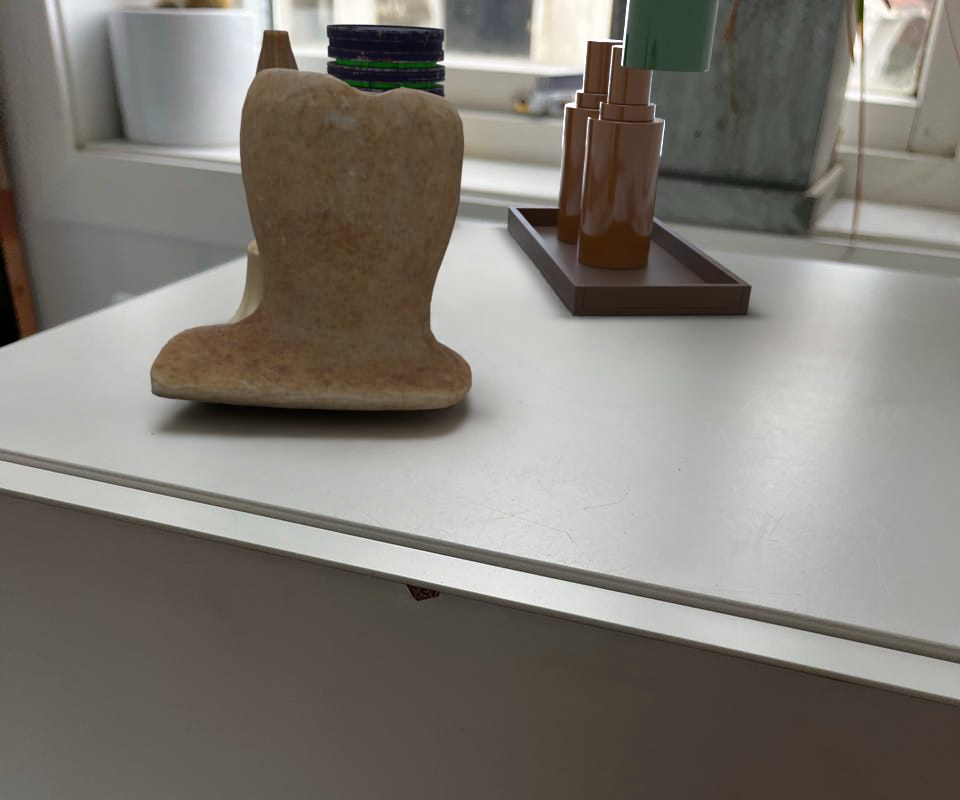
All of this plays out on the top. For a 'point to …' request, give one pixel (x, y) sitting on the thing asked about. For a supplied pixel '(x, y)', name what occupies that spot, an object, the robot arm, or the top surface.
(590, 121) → the amber bottle
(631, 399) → the top surface
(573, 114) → the amber bottle
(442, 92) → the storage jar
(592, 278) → the tray
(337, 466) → the top surface
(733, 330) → the top surface
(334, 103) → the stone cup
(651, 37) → the green bottle
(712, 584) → the top surface
